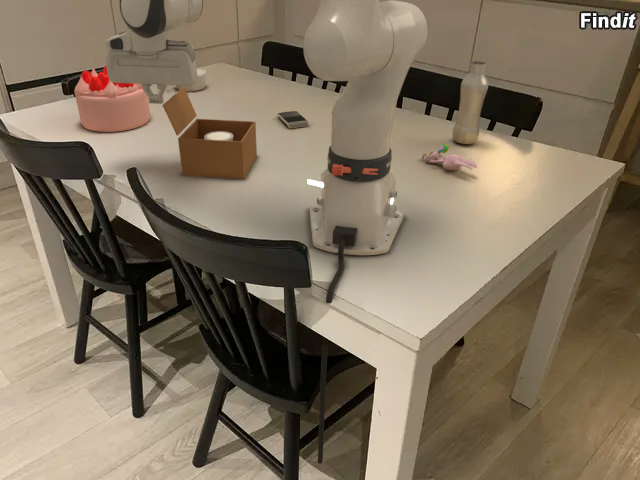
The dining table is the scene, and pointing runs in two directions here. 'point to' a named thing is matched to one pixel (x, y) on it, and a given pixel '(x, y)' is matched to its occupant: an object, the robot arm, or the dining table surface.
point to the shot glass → (219, 136)
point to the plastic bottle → (471, 104)
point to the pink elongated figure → (449, 159)
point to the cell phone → (292, 119)
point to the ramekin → (198, 84)
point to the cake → (110, 103)
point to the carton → (218, 149)
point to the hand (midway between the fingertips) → (156, 103)
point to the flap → (179, 111)
